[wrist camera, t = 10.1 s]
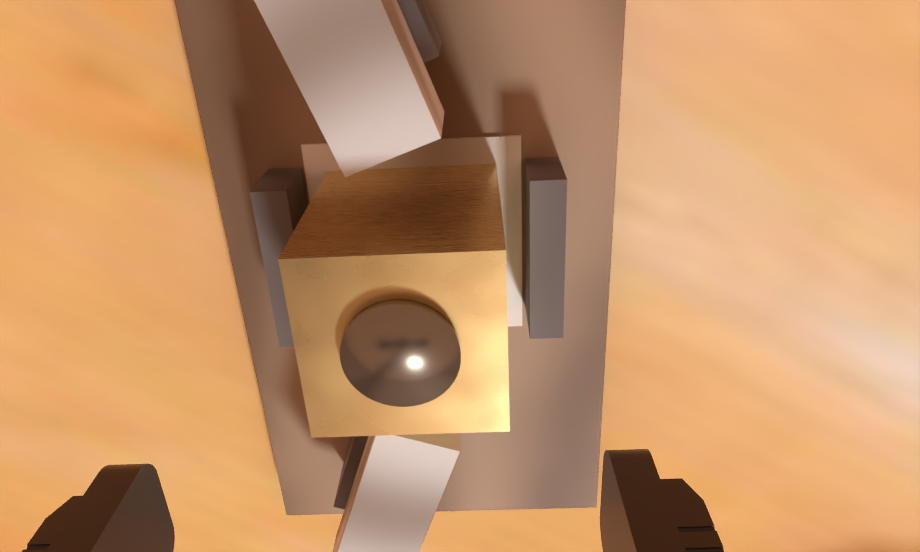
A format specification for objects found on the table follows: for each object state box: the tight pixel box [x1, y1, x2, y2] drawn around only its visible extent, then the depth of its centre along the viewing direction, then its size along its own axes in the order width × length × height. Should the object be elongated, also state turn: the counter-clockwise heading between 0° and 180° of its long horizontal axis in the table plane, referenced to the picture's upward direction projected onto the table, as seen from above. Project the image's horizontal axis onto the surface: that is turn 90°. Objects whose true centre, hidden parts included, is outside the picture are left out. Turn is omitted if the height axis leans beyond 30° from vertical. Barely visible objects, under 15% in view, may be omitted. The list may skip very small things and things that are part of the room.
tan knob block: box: [278, 164, 510, 438], centre depth 19 cm, size 5×5×6 cm
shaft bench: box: [175, 0, 626, 552], centre depth 20 cm, size 12×23×6 cm, turn 3°
